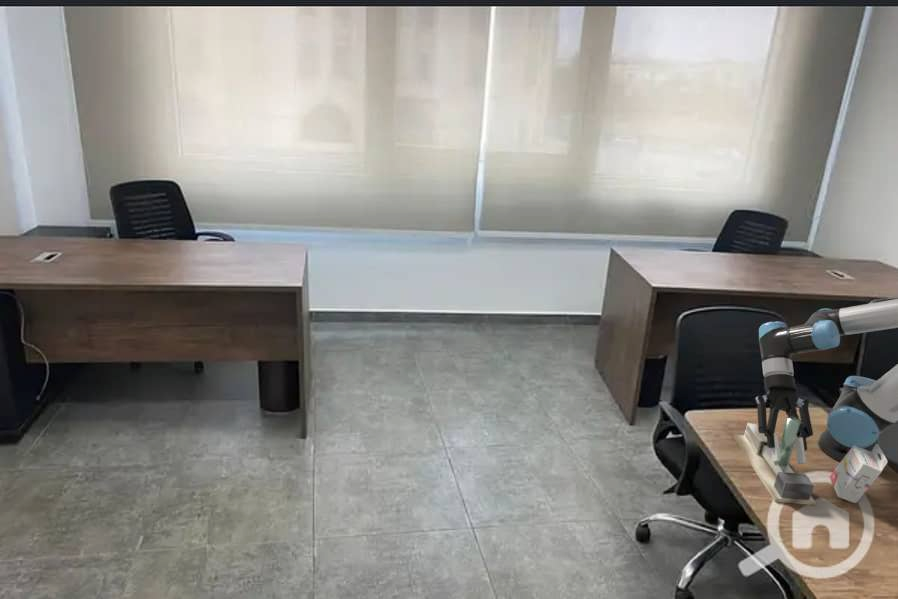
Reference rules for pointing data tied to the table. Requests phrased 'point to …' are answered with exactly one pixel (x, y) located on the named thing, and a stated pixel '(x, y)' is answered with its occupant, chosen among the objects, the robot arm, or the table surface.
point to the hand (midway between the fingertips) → (789, 461)
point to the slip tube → (783, 446)
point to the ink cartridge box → (857, 472)
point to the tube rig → (779, 485)
